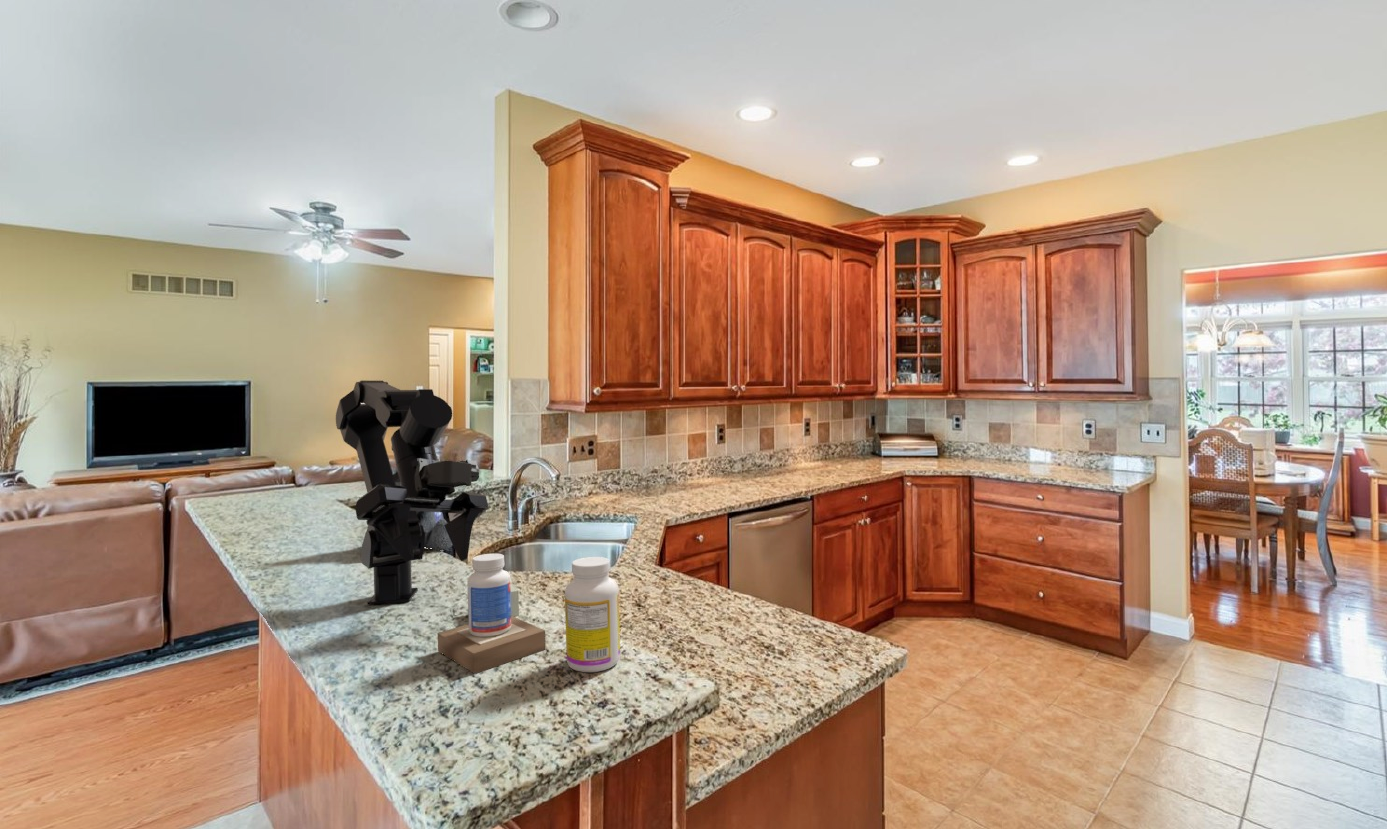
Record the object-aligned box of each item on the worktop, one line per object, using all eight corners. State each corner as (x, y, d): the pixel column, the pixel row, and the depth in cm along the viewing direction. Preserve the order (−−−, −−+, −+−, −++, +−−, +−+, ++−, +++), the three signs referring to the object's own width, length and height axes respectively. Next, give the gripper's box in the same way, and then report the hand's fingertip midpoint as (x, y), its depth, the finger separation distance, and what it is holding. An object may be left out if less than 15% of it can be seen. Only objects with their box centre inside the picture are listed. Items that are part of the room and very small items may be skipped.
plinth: (438, 651, 84) (437, 631, 84) (506, 630, 91) (506, 612, 91) (474, 674, 77) (473, 652, 77) (545, 649, 84) (545, 629, 84)
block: (479, 612, 99) (478, 587, 99) (511, 607, 102) (511, 582, 102) (485, 622, 95) (484, 596, 95) (519, 616, 97) (518, 590, 97)
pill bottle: (518, 630, 84) (516, 557, 83) (478, 641, 80) (476, 564, 80) (501, 620, 88) (499, 549, 87) (462, 629, 84) (460, 556, 84)
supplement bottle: (590, 648, 84) (588, 552, 84) (630, 658, 81) (628, 558, 80) (554, 667, 78) (552, 564, 78) (596, 679, 75) (594, 571, 75)
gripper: (395, 426, 84) (418, 534, 78) (500, 445, 100) (526, 537, 94) (345, 465, 88) (363, 571, 82) (453, 478, 104) (475, 567, 98)
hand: (438, 560), depth 89 cm, fingers open, 9 cm apart
